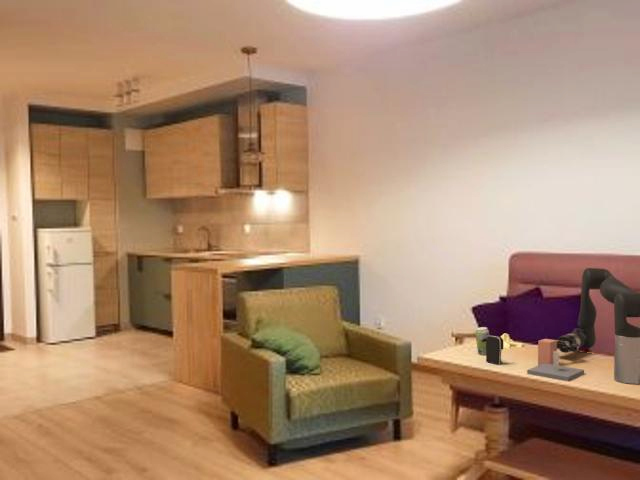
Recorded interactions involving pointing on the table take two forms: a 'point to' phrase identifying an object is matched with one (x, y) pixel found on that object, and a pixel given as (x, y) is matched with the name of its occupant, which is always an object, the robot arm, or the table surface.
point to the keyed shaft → (555, 361)
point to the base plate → (555, 372)
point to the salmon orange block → (546, 351)
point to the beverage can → (481, 339)
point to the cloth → (509, 342)
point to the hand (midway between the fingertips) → (553, 348)
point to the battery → (494, 349)
